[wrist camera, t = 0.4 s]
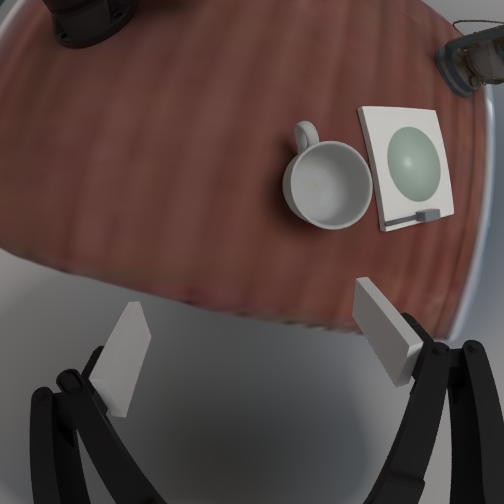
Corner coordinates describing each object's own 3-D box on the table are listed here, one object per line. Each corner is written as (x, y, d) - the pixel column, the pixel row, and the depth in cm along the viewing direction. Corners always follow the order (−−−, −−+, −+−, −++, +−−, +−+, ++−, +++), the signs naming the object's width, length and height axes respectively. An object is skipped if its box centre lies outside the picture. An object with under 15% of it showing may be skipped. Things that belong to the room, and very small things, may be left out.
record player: (354, 109, 39) (367, 101, 35) (429, 112, 41) (443, 107, 37) (378, 231, 42) (393, 233, 38) (448, 213, 45) (462, 214, 41)
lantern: (429, 78, 40) (540, 36, 11) (420, 29, 38) (509, -21, 9) (480, 110, 44) (575, 93, 15) (471, 63, 42) (554, 37, 13)
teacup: (350, 216, 41) (379, 219, 33) (283, 233, 40) (303, 239, 32) (329, 127, 39) (355, 112, 31) (260, 137, 37) (275, 120, 29)
